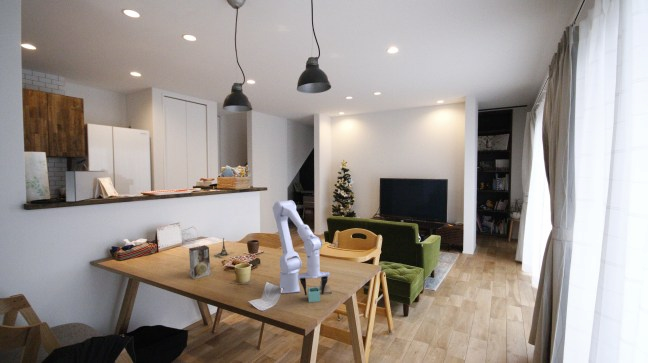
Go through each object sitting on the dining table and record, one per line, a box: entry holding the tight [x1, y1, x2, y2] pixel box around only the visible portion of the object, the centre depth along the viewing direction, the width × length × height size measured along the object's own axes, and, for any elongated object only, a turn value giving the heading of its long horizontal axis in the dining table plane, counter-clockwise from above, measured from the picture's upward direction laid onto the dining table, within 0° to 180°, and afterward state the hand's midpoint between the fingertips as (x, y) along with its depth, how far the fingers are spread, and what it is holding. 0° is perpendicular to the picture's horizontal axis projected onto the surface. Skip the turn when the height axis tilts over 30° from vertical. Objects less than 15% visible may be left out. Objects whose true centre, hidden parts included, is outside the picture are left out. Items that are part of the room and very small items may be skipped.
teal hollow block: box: [307, 286, 321, 303], centre depth 131 cm, size 5×5×4 cm
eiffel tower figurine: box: [213, 237, 229, 259], centre depth 203 cm, size 15×10×13 cm
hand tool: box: [247, 257, 261, 266], centre depth 174 cm, size 19×4×5 cm, turn 150°
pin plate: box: [313, 281, 333, 295], centre depth 140 cm, size 8×8×4 cm
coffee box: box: [188, 244, 211, 280], centre depth 163 cm, size 9×6×16 cm
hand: (314, 293), depth 131 cm, fingers open, 7 cm apart
